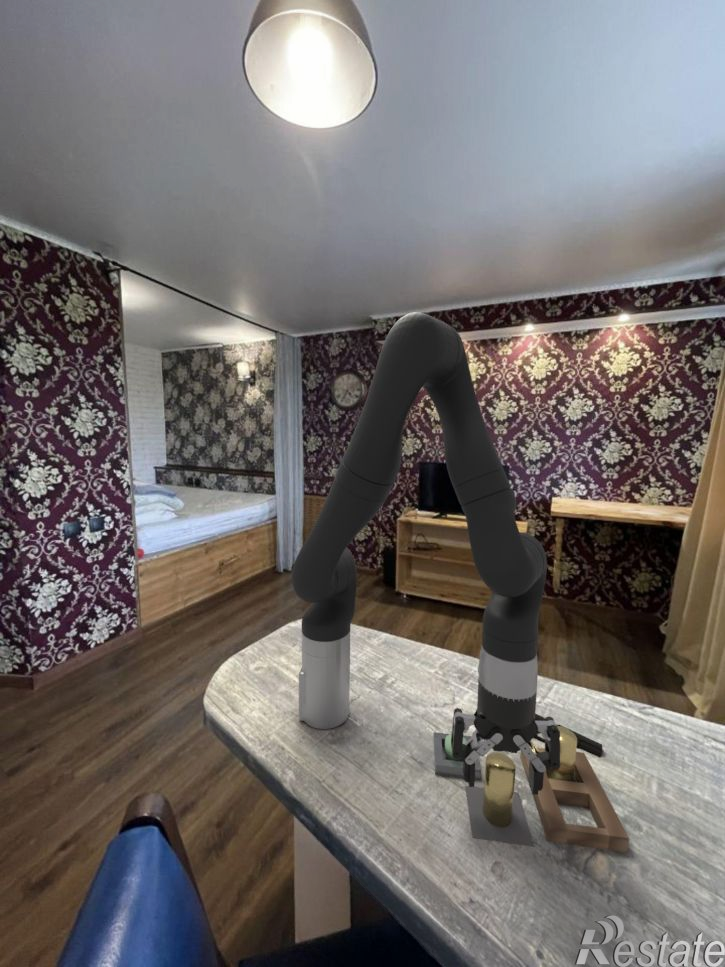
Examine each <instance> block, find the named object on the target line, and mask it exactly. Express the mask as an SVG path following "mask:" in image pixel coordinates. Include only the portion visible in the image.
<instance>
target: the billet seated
mask: <svg viewBox="0 0 725 967" xmlns="http://www.w3.org/2000/svg"><path fill="white" fill-rule="evenodd" d="M561 726H562V725H561ZM561 726H557V727H558V730H559V732H560V768H559V769H557V770H554V769H552V768H551V767H550V768H546V770H545V772H546V775H547V777H548V779H555V780H563V781H571V782H574V779H575V777H574V769H575V758H576V752H577V749H578V748H577V737H576V736H575V734H574V733H573V732H572V731H573V730H572V731H570V730H571V729H570V728H568V727H565V726H563V727H561ZM564 727H565V728H564ZM567 728H568V729H567ZM569 729H570V730H569Z"/></svg>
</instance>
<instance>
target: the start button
mask: <svg viewBox="0 0 725 967" xmlns="http://www.w3.org/2000/svg"><path fill="white" fill-rule="evenodd" d="M448 734H449V735H447V736H446V738H445V754H446V756H447V757H448V758H449V759H451V760H454V761H463V759H461V758H459V759H455V758H454V757H453V756H452V748H451V735H452V733H448ZM466 742H467V741H466V739H465V738H464V737H463V743H462V744H465V743H466Z"/></svg>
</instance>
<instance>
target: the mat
mask: <svg viewBox="0 0 725 967" xmlns="http://www.w3.org/2000/svg"><path fill="white" fill-rule="evenodd" d="M464 788H465V795H466V802H467V803H466V804H467V810H468V815H469V822H470V830H471V836H472V839H478V840H485V841H491V842H498V843H503V844H504V843H507V844H513V845H518V846H526V847H535V845H534V841H533V837H532V833H531V830H530V826H529V823H528V820H527V819H528V818H527V817H526V816H527V815H526V814H525V810H524V806H523V803H522V799H521V795H520V792H519V791H514V796H513V810H512V821H511V823H510V825H509V826H507V827H497V826H494V825H492V824H491V823H490V822H488V821H487V819H486V818H485V817H484V814H483V794H484V787H479V786H478V787H477V786H474V787H469V785H464Z"/></svg>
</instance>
